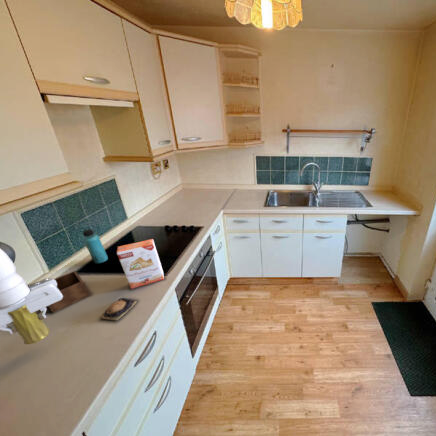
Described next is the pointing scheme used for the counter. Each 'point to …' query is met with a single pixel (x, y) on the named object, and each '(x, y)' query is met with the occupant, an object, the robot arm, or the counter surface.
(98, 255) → the beverage bottle
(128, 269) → the cracker box
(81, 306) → the counter surface
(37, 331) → the vase
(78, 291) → the box
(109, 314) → the brown oval piece
